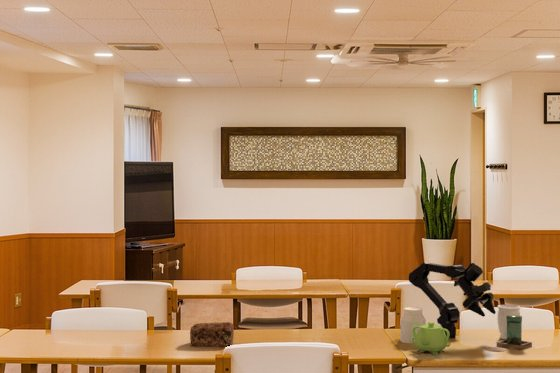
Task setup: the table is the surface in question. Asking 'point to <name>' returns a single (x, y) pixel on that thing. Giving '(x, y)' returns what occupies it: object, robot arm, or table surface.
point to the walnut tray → (518, 347)
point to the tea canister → (514, 329)
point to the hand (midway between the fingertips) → (489, 314)
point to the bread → (212, 334)
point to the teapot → (431, 338)
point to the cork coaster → (495, 349)
